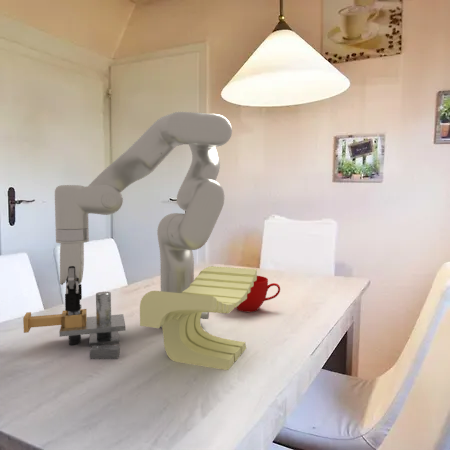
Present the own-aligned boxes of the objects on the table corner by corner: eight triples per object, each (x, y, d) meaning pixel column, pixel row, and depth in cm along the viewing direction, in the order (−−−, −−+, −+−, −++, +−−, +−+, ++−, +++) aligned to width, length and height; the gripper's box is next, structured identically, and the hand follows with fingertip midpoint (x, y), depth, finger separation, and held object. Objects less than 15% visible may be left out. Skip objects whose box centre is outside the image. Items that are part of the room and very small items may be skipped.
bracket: (86, 321, 102) (86, 307, 102) (86, 328, 97) (85, 313, 97) (27, 326, 98) (26, 311, 98) (23, 333, 93) (22, 318, 92)
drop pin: (84, 340, 100) (83, 304, 100) (78, 345, 97) (77, 308, 96) (72, 340, 101) (71, 303, 100) (64, 345, 97) (63, 307, 97)
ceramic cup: (278, 317, 121) (279, 284, 120) (224, 313, 124) (224, 282, 124) (281, 305, 134) (281, 276, 133) (231, 302, 137) (231, 274, 136)
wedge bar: (119, 355, 92) (119, 345, 92) (117, 360, 89) (117, 349, 89) (93, 355, 92) (93, 345, 92) (90, 360, 89) (90, 349, 89)
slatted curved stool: (200, 329, 109) (200, 265, 108) (256, 336, 104) (256, 269, 103) (140, 375, 81) (139, 289, 80) (212, 388, 76) (213, 296, 75)
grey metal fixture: (123, 331, 107) (122, 287, 106) (125, 344, 98) (125, 296, 97) (63, 337, 103) (62, 291, 102) (59, 351, 93) (58, 301, 92)
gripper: (59, 233, 104) (60, 297, 105) (51, 240, 88) (53, 316, 89) (89, 232, 106) (90, 295, 108) (87, 239, 90) (89, 313, 91)
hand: (74, 304), depth 98 cm, fingers open, 9 cm apart
